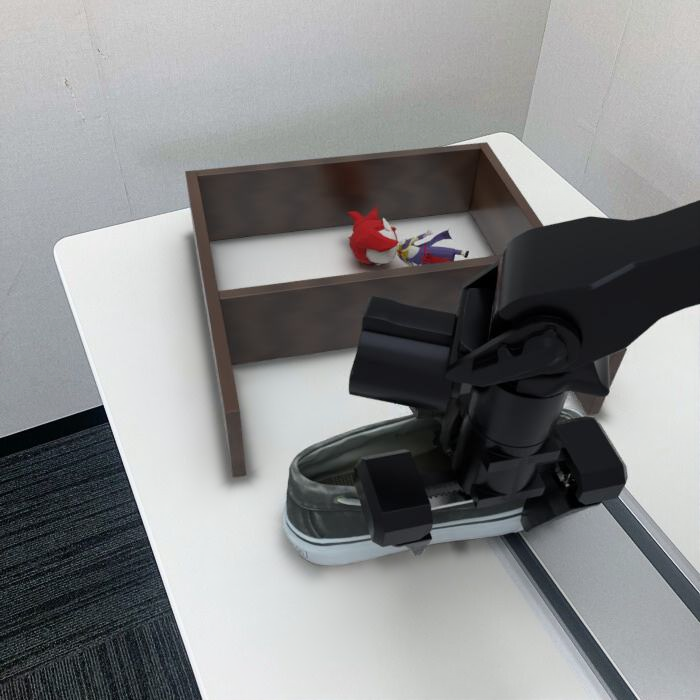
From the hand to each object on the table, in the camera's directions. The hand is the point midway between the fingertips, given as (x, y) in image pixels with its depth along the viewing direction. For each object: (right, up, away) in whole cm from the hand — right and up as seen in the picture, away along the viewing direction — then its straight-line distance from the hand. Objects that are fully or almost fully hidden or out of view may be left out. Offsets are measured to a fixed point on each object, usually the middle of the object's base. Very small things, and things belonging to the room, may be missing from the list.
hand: (470, 538), depth 59 cm
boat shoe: (-1, +1, +6) cm, 6 cm away
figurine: (-4, +24, +28) cm, 37 cm away
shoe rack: (-7, +18, +22) cm, 29 cm away
